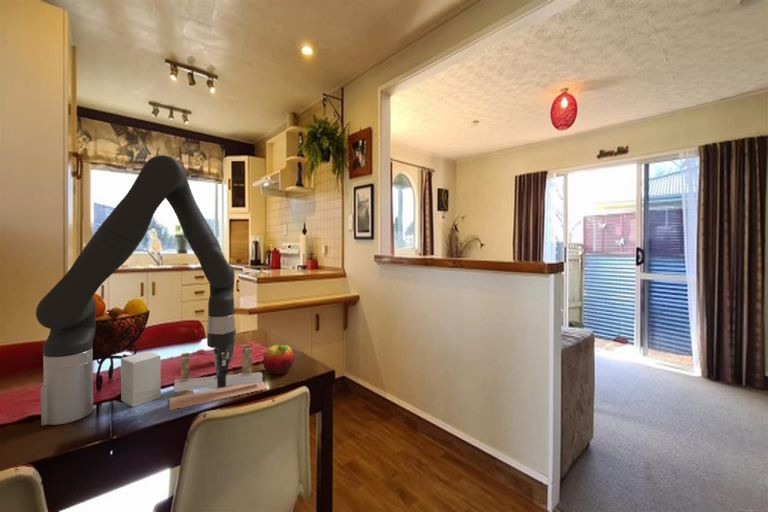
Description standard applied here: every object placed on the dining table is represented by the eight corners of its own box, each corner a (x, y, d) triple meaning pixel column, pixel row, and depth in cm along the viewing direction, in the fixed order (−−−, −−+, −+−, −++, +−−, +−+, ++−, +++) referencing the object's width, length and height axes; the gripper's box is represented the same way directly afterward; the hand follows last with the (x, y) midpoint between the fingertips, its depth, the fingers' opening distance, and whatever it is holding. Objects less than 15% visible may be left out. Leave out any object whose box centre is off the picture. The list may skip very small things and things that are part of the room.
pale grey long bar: (173, 391, 92) (174, 383, 92) (173, 388, 94) (174, 379, 94) (261, 382, 106) (262, 374, 106) (260, 379, 108) (261, 372, 108)
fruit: (284, 363, 126) (285, 338, 126) (299, 372, 119) (300, 345, 118) (257, 370, 119) (258, 343, 118) (271, 380, 111) (271, 351, 111)
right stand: (242, 383, 108) (242, 350, 107) (238, 376, 113) (239, 345, 113) (254, 381, 110) (255, 348, 110) (251, 374, 116) (251, 343, 115)
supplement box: (161, 397, 97) (161, 355, 97) (132, 408, 91) (132, 363, 90) (149, 390, 101) (149, 350, 100) (120, 400, 95) (119, 357, 94)
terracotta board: (169, 410, 90) (169, 408, 90) (169, 399, 96) (169, 398, 96) (267, 389, 104) (267, 388, 104) (262, 381, 110) (262, 379, 110)
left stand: (177, 396, 98) (177, 360, 98) (177, 387, 103) (177, 353, 103) (193, 393, 100) (193, 357, 100) (191, 385, 106) (192, 351, 105)
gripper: (205, 325, 103) (205, 379, 104) (209, 337, 91) (209, 397, 92) (231, 322, 107) (230, 374, 108) (238, 333, 95) (238, 391, 96)
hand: (221, 384), depth 100 cm, fingers closed on pale grey long bar, 2 cm apart
